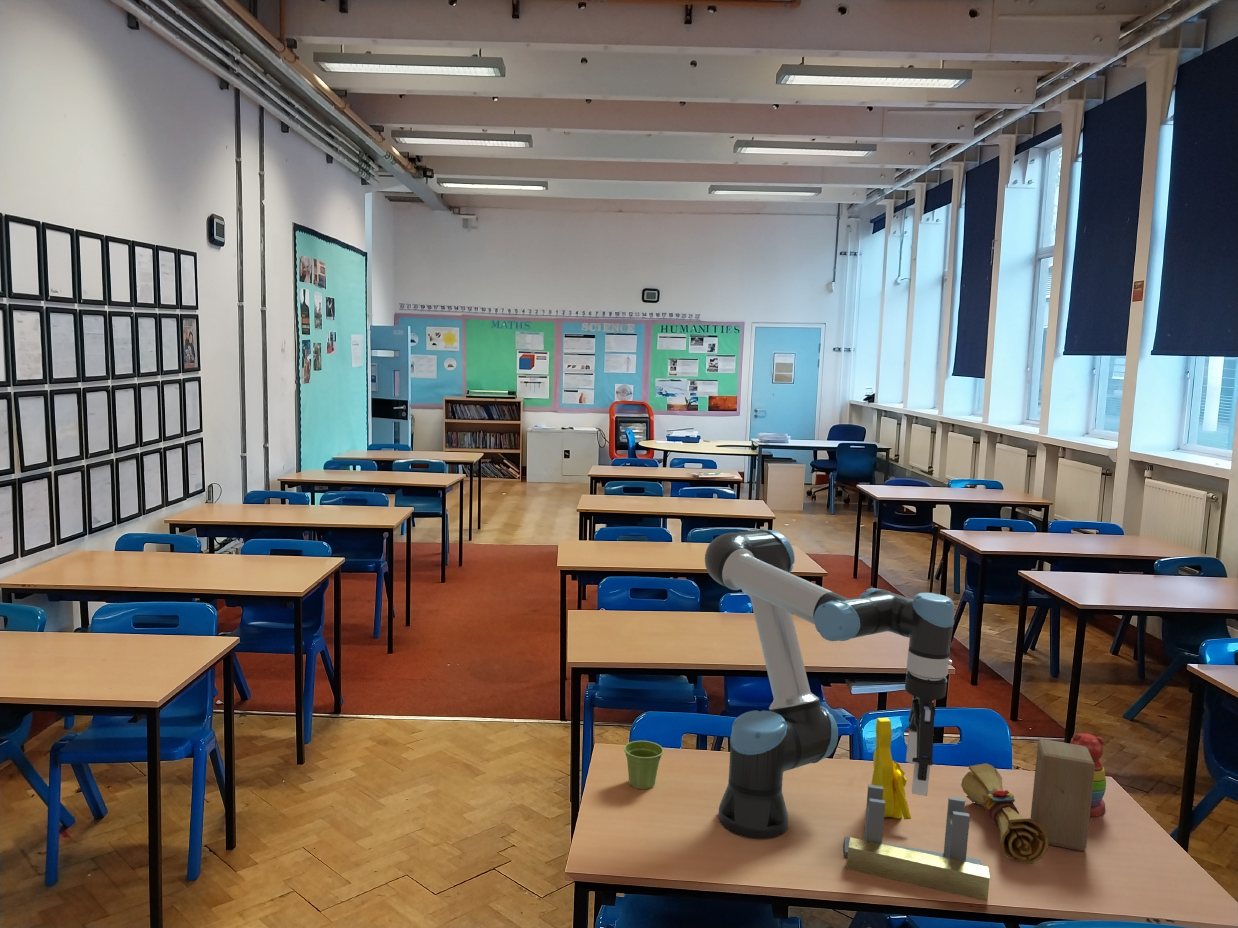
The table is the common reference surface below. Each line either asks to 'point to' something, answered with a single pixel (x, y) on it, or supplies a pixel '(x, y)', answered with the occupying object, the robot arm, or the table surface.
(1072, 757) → the wooden block
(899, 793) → the figure statuette
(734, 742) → the robot arm
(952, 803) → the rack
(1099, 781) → the stacking bear
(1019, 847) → the scroll
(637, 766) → the plant pot
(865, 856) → the rail
